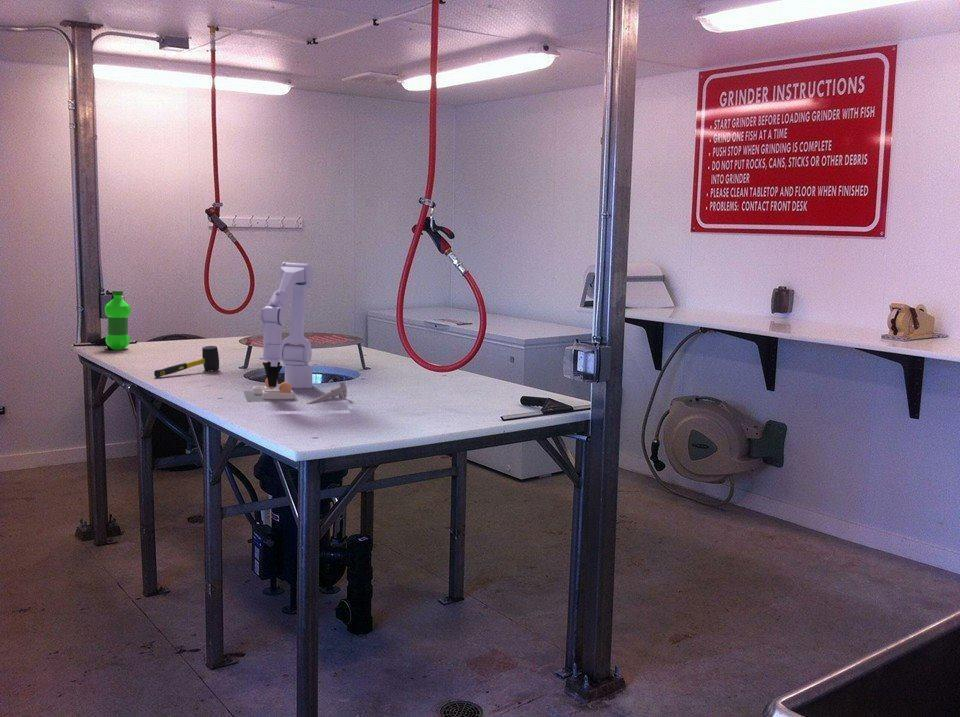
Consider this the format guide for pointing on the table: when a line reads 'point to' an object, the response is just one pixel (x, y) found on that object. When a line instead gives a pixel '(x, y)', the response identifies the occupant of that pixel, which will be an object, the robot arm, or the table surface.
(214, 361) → the mallet
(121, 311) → the plastic bottle
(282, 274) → the robot arm
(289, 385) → the ball left
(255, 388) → the tube
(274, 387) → the ball
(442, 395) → the table surface
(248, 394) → the mat
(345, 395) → the caliper
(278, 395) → the hollow rectangular frame
